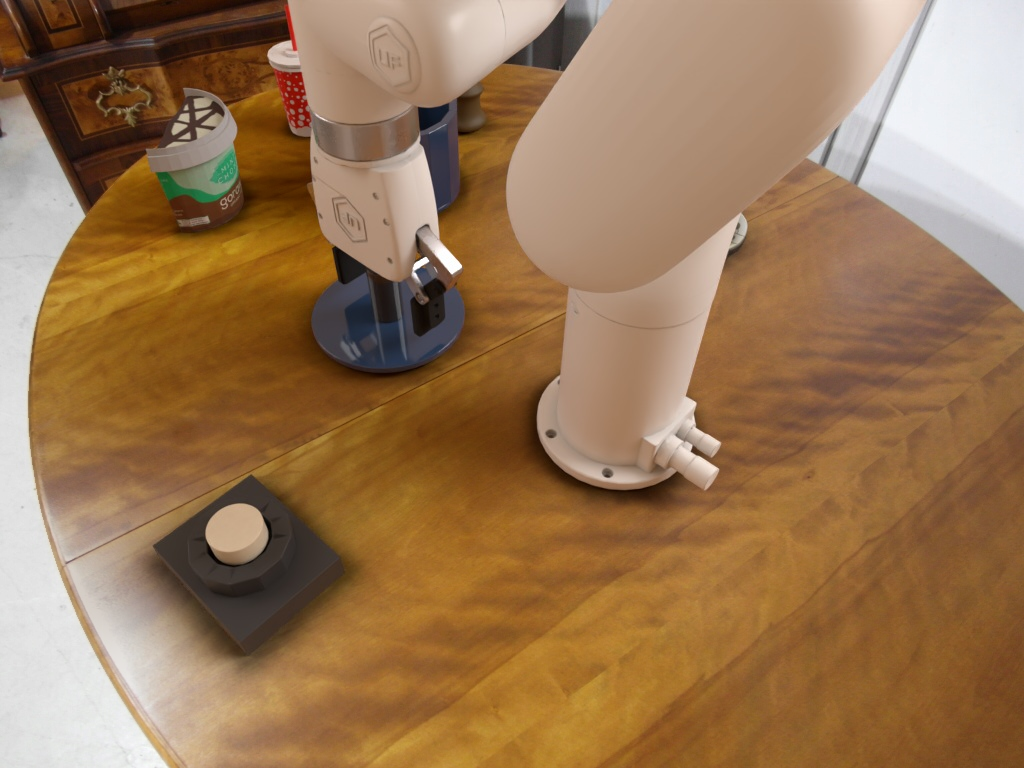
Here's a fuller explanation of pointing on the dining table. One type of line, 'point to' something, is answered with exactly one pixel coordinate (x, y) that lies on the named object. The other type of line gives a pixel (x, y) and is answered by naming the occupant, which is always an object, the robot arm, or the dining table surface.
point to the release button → (237, 534)
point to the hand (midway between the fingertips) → (391, 300)
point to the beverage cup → (291, 82)
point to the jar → (441, 150)
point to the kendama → (470, 109)
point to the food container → (199, 163)
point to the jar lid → (381, 324)
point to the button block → (252, 568)
